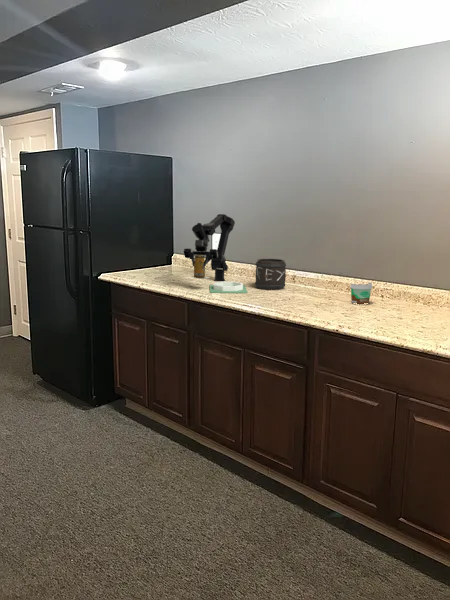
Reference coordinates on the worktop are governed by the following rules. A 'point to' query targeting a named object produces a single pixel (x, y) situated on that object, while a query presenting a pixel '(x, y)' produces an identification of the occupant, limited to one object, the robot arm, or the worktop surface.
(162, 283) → the worktop surface
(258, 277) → the lettered dark canister
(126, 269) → the worktop surface
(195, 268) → the yellow bottle can
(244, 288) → the green mat
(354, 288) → the food container
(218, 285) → the white octagonal fence
